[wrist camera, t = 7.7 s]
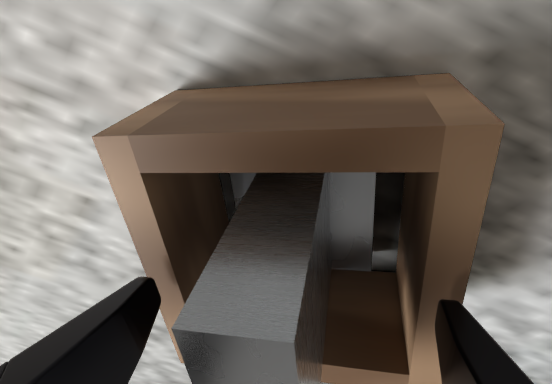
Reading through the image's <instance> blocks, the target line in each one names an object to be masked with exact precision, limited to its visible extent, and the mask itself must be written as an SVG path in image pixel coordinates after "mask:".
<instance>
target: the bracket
mask: <svg viewBox="0 0 552 384" xmlns="http://www.w3.org/2000/svg"><path fill="white" fill-rule="evenodd" d="M230 178H231V183H232V189H233V194H234V199H235V205H236V212H235V213H234V215H233V217H232V219H231V221H230V223H229V224H228V226H227V228H226V230H225V232H224V234H223V235H222V237H221V239H220V241H219V243H218V244H217V246H216V248H215V250H214V252H213V254H212V255H211V257H210V259H209V261H208V263H207V265H206V266H205V268H204V270H203V272H202V274H201V276H200V277H199V279H198V281H197V283H196V285H195V286H194V288H193V290H192V292H191V294H190V296H189V297H188V299H187V301H186V303H185V305H184V307H183V308H182V310H181V312H180V314H179V316H178V317H177V319H176V321H175V323H174V325H173V327H172V328H171V329H172V332H173V334H174V337H175V340H176V342H177V345H178V348H179V350H180V353H181V356H182V358H183V361H184V363H185V366H186V369H187V371H188V374H189V377H190V379H191V382H192V384H321V374H322V363H323V353H324V342H325V331H326V321H327V310H328V300H329V289H330V278H331V269H340V270H355V271H370V272H371V260H372V241H373V221H374V202H375V182H376V172H342V173H230Z"/></svg>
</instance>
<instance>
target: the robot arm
mask: <svg viewBox="0 0 552 384" xmlns="http://www.w3.org/2000/svg"><path fill="white" fill-rule="evenodd" d="M160 305H161V296H160V293H159V290H158V288H157V285H156V283H155V280H154V279H153V278H151V277H138V278H136V279H134V280H133V281H131V282H130V283H128V284H127V285H125V286H123V287H122V288H120V289H119V290H117V291H116V292H114V293H113V294H111V295H109V296H108V297H106V298H105V299H103V300H102V301H100V302H99V303H97V304H96V305H94V306H92V307H91V308H89V309H88V310H86V311H85V312H83V313H82V314H80V315H78V316H77V317H75V318H74V319H72V320H71V321H69V322H68V323H66V324H65V325H63V326H61V327H60V328H58V329H57V330H55V331H54V332H52V333H51V334H49V335H47V336H46V337H44V338H43V339H41V340H40V341H38V342H37V343H35V344H33V345H32V346H30V347H29V348H27V349H26V350H24V351H23V352H21V353H19V354H18V355H16V356H15V357H13V358H12V359H10V361H9V362H5V363H4V364H2V365H1V366H0V384H128V382H129V380H130V378H131V376H132V374H133V372H134V370H135V368H136V366H137V364H138V362H139V359H140V357H141V355H142V353H143V350H144V348H145V345H146V343H147V340H148V337H149V335H150V332H151V329H152V327H153V324H154V321H155V319H156V316H157V313H158V311H159V308H160ZM435 336H436V343H437V351H438V358H439V365H440V373H441V380H442V384H534V383H533V382H532V381H531V380H530V379H529V378H528V376H527V375H526V374H525V373H524V372H523V371H522V370H521V369H520V368H519V367H518V365H517V364H516V363H515V362H514V361H513V360H512V359H511V358H510V357H509V356H508V354H507V353H506V352H505V351H504V350H503V349H502V348H501V347H500V346H499V345H498V343H497V342H496V341H495V340H494V339H493V338H492V337H491V336H490V335H489V334H488V332H487V331H486V330H485V329H484V328H483V327H482V326H481V325H480V324H479V323H478V321H477V320H476V319H475V318H474V317H473V316H472V315H471V314H470V313H469V312H468V310H467V309H466V308H465V307H464V306H463V305H462V304H461V303H460V302H459V301H457V300H447V299H441V300H439V302H438V307H437V312H436V318H435Z"/></svg>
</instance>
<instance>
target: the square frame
mask: <svg viewBox="0 0 552 384" xmlns="http://www.w3.org/2000/svg"><path fill="white" fill-rule="evenodd" d="M504 125H505V124H504V123H503V122H502V121H501V120H500V119H499V118H498V117H497V116H496V115H495V114H493V113H492V112H491V111H490V110H489V109H488V108H487V107H486V106H485V105H484V104H483V103H481V102H480V101H479V100H478V99H477V98H476V97H475V96H474V95H473V94H472V93H471V92H469V91H468V90H467V89H466V88H465V87H464V86H463V85H462V84H461V83H460V82H459V81H458V80H456V79H455V78H454V77H453V76H452V75H451V74H450V73H444V74H429V75H413V76H397V77H381V78H366V79H350V80H334V81H319V82H303V83H287V84H271V85H256V86H240V87H224V88H209V89H193V90H177V91H173V92H171V93H170V94H168V95H166V96H164V97H162V98H161V99H159V100H157V101H155V102H153V103H152V104H150V105H148V106H146V107H144V108H143V109H141V110H139V111H137V112H135V113H134V114H132V115H130V116H128V117H126V118H125V119H123V120H121V121H119V122H118V123H116V124H114V125H112V126H110V127H109V128H107V129H105V130H103V131H101V132H100V133H98V134H96V135H94V136H92V139H93V141H94V144H95V146H96V149H97V151H98V154H99V156H100V159H101V161H102V164H103V166H104V169H105V172H106V174H107V177H108V179H109V182H110V184H111V187H112V189H113V192H114V194H115V197H116V199H117V202H118V204H119V207H120V210H121V212H122V215H123V217H124V220H125V222H126V225H127V227H128V230H129V232H130V235H131V237H132V240H133V242H134V245H135V248H136V250H137V253H138V255H139V258H140V260H141V263H142V265H143V268H144V270H145V273H146V275H147V277H151V278H153V279H154V280H155V283H156V285H157V288H158V290H159V293H160V296H161V305H160V311H161V313H162V316H163V318H164V321H165V323H166V326H167V329H168V331H169V334H170V336H171V339H172V341H173V344H174V346H175V349H176V351H177V354H178V356H179V359H180V361H181V363H184V361H183V358H182V356H181V353H180V350H179V348H178V345H177V342H176V340H175V337H174V334H173V332H172V329H171V328H172V327H173V325H174V323H175V321H176V319H177V317H178V316H179V314H180V312H181V310H182V308H183V307H184V305H185V303H186V301H187V299H188V297H189V296H190V294H191V292H192V290H193V288H194V286H195V285H196V283H197V281H198V279H199V277H200V276H201V274H202V272H203V270H204V268H205V266H206V265H207V263H208V261H209V259H210V257H211V255H212V254H213V252H214V250H215V248H216V246H217V244H218V243H219V241H220V239H221V237H222V235H223V234H224V232H225V230H226V228H227V226H228V224H229V220H228V216H227V211H226V206H225V202H224V197H223V192H222V187H221V183H220V178H219V173H342V172H405V176H404V187H403V198H402V209H401V220H400V231H399V243H398V254H397V265H396V273H394V272H378V271H371V272H370V271H355V270H340V269H331V278H330V289H329V300H328V310H327V321H326V331H325V342H324V353H323V363H322V374H321V382H324V383H331V384H442V380H441V373H440V365H439V358H438V351H437V343H436V336H435V318H436V312H437V307H438V302H439V300H441V299H447V300H457V301H459V302H460V303H461V304H463V300H464V296H465V292H466V287H467V283H468V279H469V274H470V270H471V266H472V262H473V257H474V253H475V249H476V245H477V240H478V236H479V232H480V227H481V223H482V219H483V215H484V210H485V206H486V202H487V198H488V193H489V189H490V185H491V180H492V176H493V172H494V168H495V163H496V159H497V155H498V151H499V146H500V142H501V138H502V133H503V129H504Z"/></svg>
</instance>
